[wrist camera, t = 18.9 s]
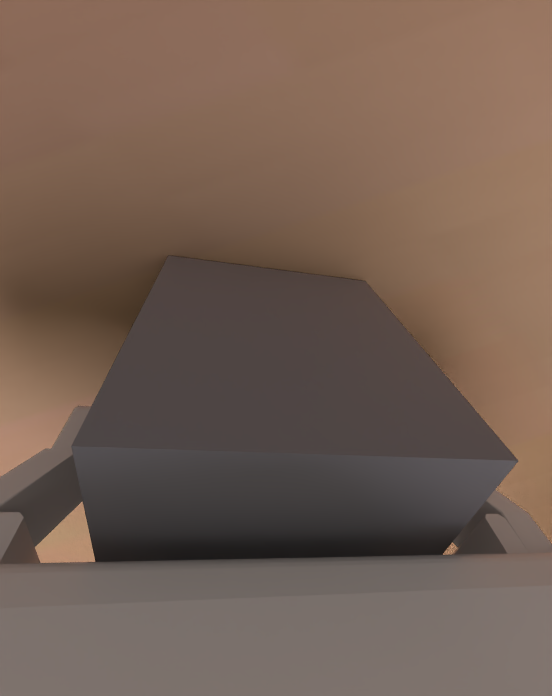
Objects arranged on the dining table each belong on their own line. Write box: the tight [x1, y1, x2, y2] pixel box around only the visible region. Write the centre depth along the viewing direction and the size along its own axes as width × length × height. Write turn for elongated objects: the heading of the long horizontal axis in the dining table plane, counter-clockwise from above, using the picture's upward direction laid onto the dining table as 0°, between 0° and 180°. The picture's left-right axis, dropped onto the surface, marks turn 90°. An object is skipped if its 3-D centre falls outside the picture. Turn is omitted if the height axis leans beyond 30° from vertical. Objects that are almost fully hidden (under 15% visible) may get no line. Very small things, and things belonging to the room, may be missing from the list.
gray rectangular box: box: [71, 255, 518, 562], centre depth 11 cm, size 8×8×9 cm
